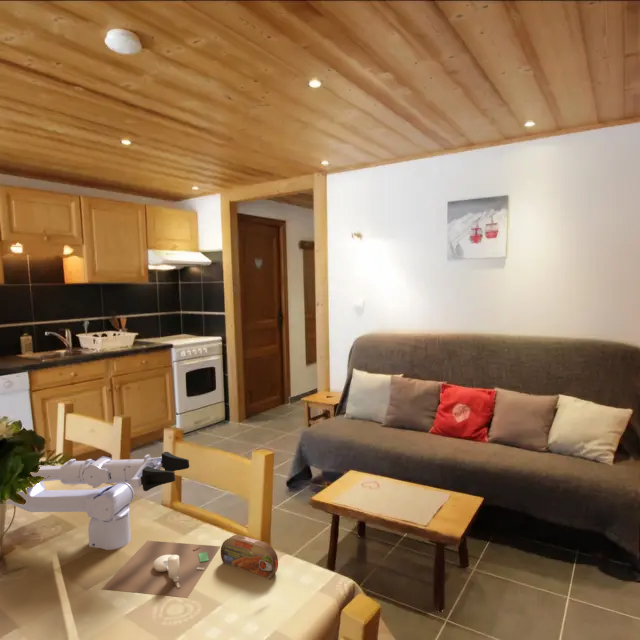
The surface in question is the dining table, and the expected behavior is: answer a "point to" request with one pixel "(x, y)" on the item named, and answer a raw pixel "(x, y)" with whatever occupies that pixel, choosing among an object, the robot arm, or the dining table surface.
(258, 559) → the tin
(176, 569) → the peg
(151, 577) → the board
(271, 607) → the dining table surface
